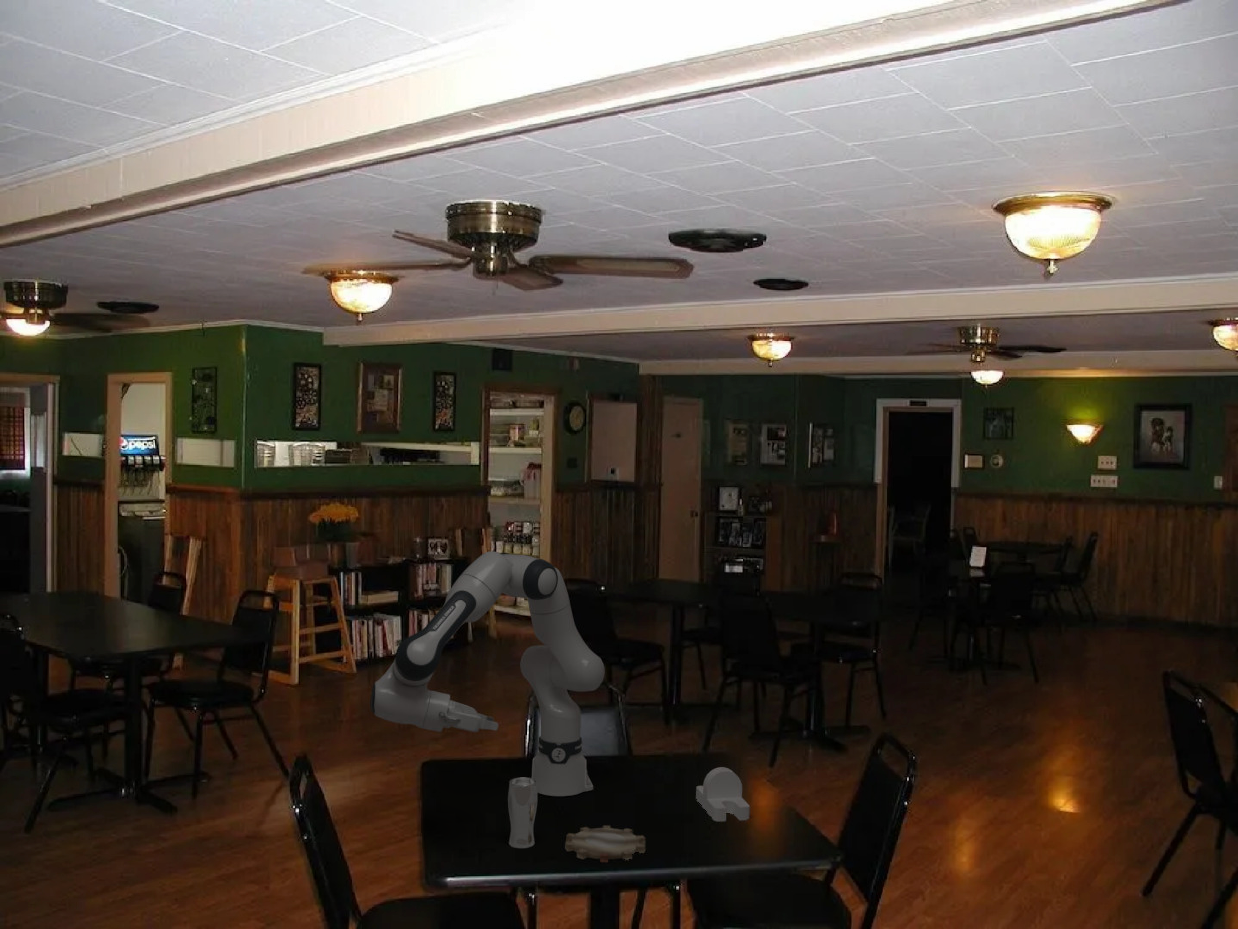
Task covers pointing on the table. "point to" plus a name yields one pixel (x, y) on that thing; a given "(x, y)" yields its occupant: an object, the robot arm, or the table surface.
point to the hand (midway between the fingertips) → (495, 724)
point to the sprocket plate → (605, 843)
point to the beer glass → (522, 811)
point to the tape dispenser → (722, 795)
